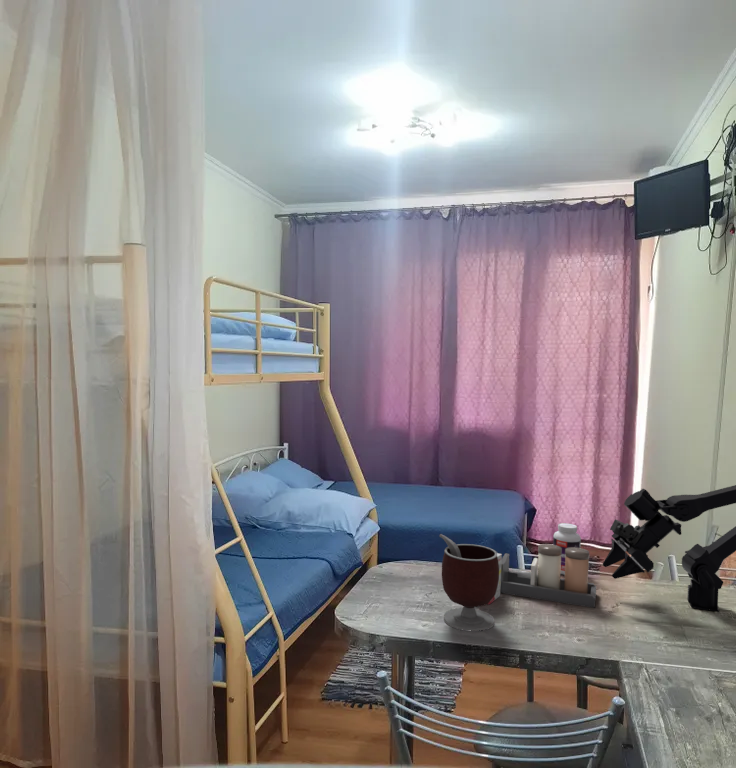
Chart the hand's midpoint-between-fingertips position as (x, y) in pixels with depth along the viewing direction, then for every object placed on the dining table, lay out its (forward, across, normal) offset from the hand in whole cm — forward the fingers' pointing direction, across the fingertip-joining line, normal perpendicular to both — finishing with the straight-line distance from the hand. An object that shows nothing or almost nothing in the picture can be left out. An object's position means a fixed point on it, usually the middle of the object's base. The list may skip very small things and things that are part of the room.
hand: (608, 571), depth 166 cm
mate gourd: (+33, +20, -22) cm, 44 cm away
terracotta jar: (+11, 0, 0) cm, 11 cm away
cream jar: (+16, -2, -5) cm, 17 cm away
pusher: (+20, -4, -10) cm, 23 cm away
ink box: (+28, +5, -18) cm, 34 cm away
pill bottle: (+10, -21, +1) cm, 24 cm away
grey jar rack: (+16, -2, -6) cm, 18 cm away
